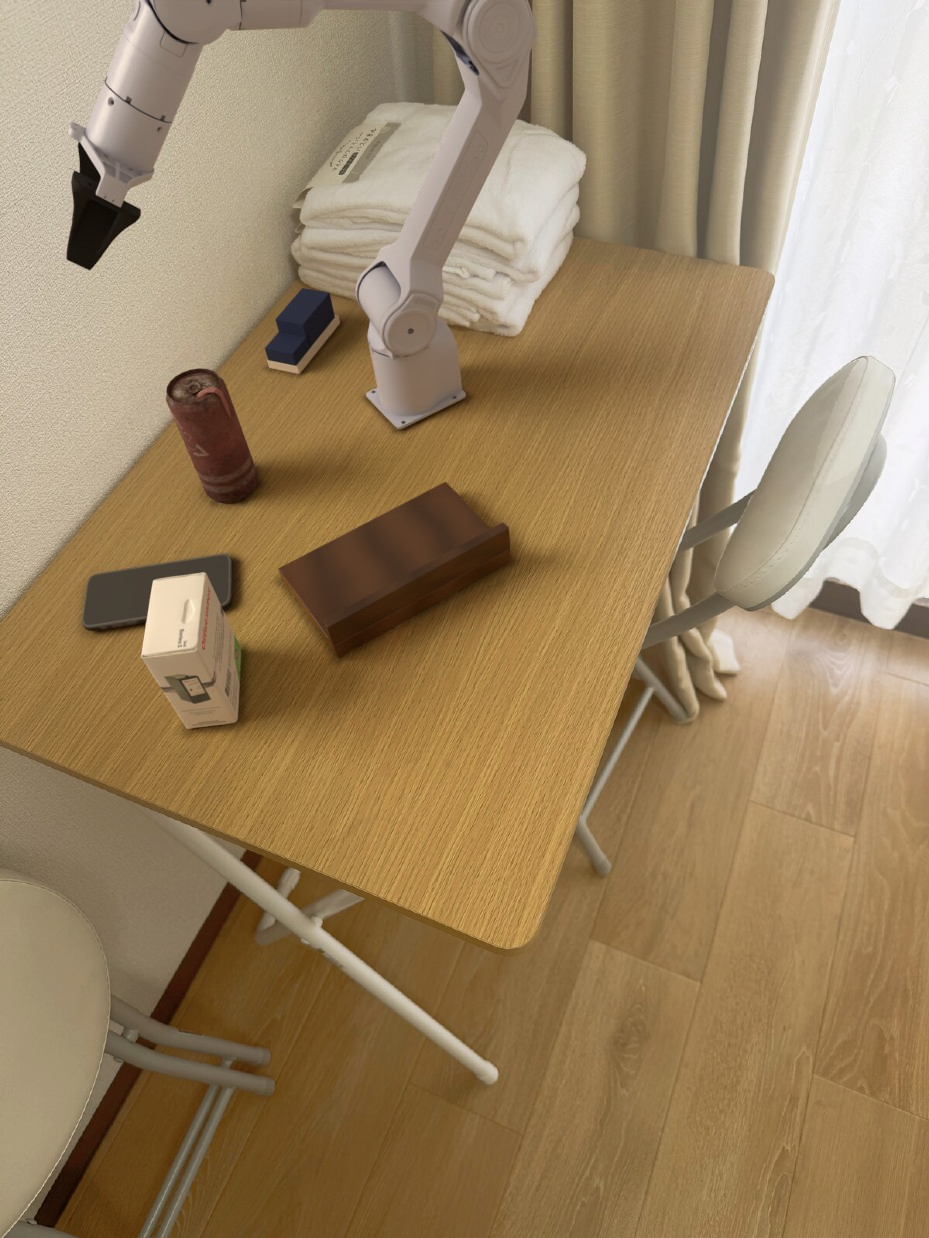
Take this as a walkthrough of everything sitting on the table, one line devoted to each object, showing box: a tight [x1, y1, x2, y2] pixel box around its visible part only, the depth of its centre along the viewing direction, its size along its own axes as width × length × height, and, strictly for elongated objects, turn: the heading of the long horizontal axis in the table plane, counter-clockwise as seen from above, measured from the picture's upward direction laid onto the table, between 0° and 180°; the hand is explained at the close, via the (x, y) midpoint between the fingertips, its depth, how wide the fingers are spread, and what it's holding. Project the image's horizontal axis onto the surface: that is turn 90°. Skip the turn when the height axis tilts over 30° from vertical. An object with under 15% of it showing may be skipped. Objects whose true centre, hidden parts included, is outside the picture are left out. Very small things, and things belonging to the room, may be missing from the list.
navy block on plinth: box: [264, 287, 341, 375], centre depth 115 cm, size 11×4×5 cm, turn 157°
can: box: [165, 367, 259, 504], centre depth 97 cm, size 6×6×14 cm
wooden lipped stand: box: [277, 481, 512, 659], centre depth 90 cm, size 20×12×5 cm, turn 123°
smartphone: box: [81, 553, 234, 632], centre depth 93 cm, size 7×1×15 cm
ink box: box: [140, 573, 242, 730], centre depth 81 cm, size 9×5×12 cm, turn 5°
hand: (80, 246), depth 82 cm, fingers open, 7 cm apart
